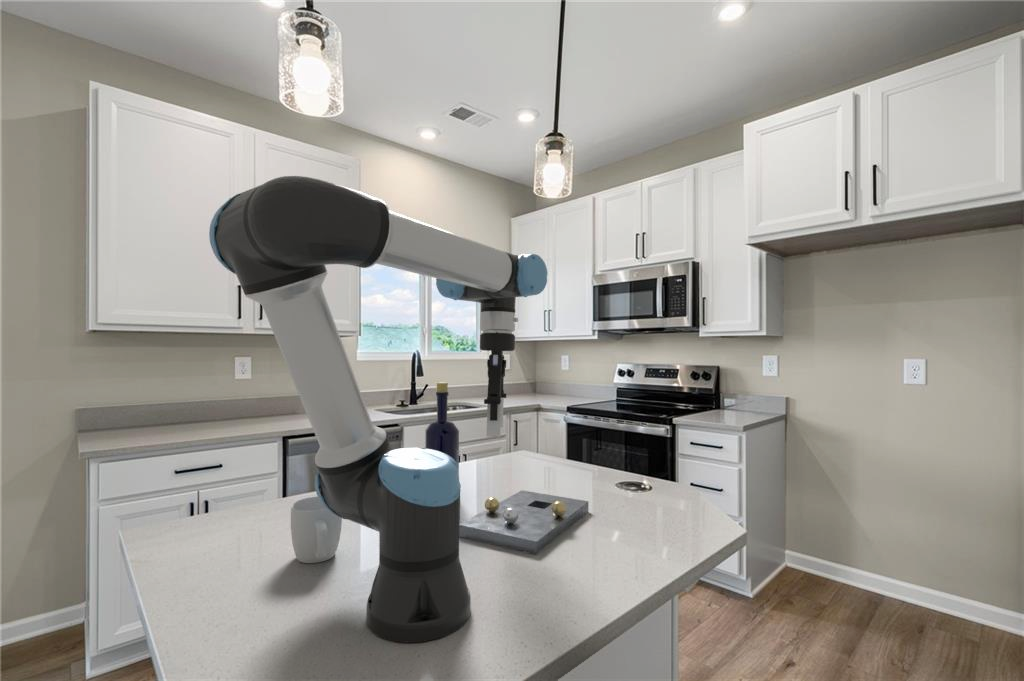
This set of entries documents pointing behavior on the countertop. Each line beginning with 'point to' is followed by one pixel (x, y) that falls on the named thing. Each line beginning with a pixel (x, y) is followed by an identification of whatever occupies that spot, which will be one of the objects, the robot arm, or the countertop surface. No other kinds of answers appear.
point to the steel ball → (510, 515)
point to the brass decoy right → (558, 508)
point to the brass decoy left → (491, 504)
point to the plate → (524, 522)
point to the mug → (314, 530)
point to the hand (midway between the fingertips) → (495, 431)
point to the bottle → (443, 428)
